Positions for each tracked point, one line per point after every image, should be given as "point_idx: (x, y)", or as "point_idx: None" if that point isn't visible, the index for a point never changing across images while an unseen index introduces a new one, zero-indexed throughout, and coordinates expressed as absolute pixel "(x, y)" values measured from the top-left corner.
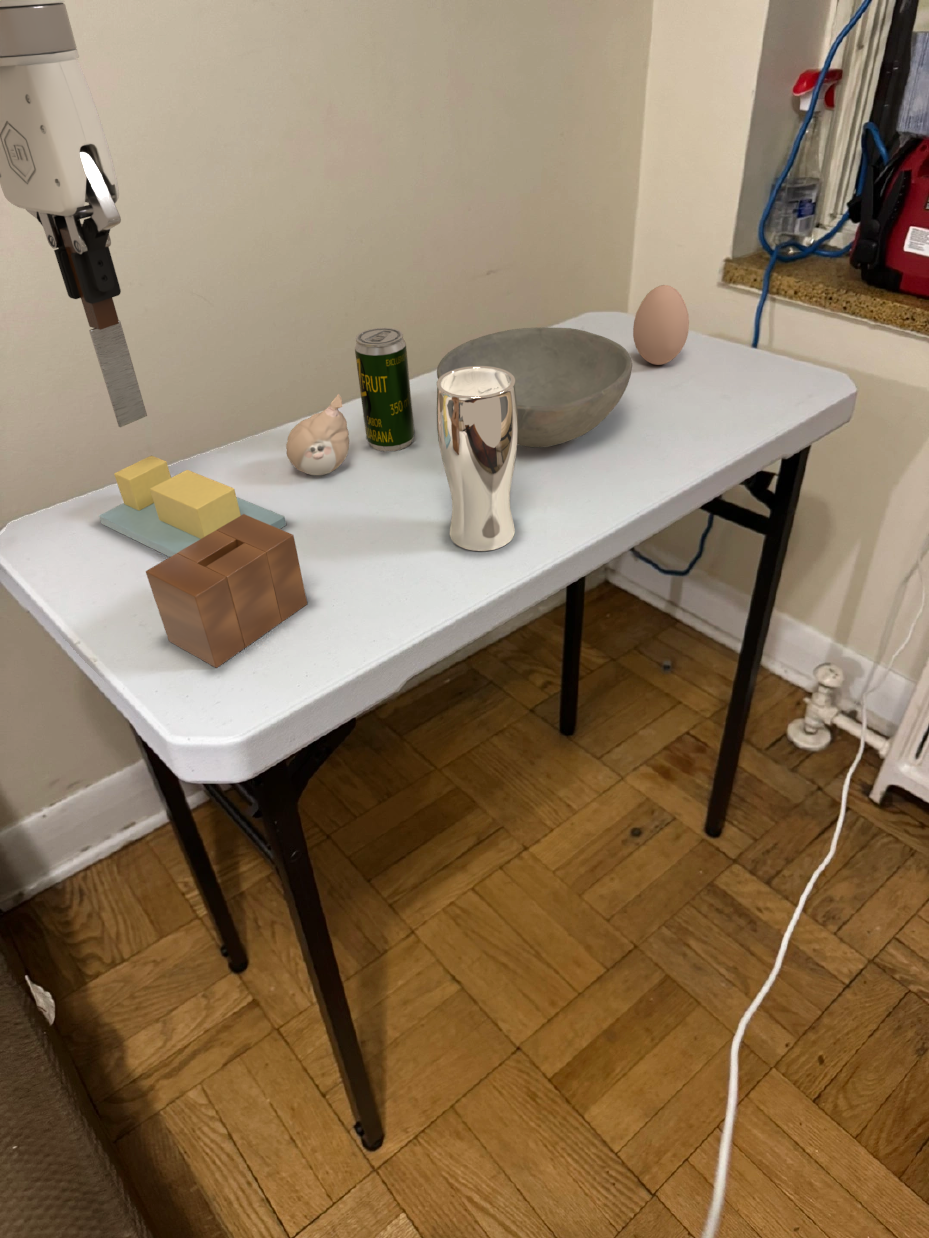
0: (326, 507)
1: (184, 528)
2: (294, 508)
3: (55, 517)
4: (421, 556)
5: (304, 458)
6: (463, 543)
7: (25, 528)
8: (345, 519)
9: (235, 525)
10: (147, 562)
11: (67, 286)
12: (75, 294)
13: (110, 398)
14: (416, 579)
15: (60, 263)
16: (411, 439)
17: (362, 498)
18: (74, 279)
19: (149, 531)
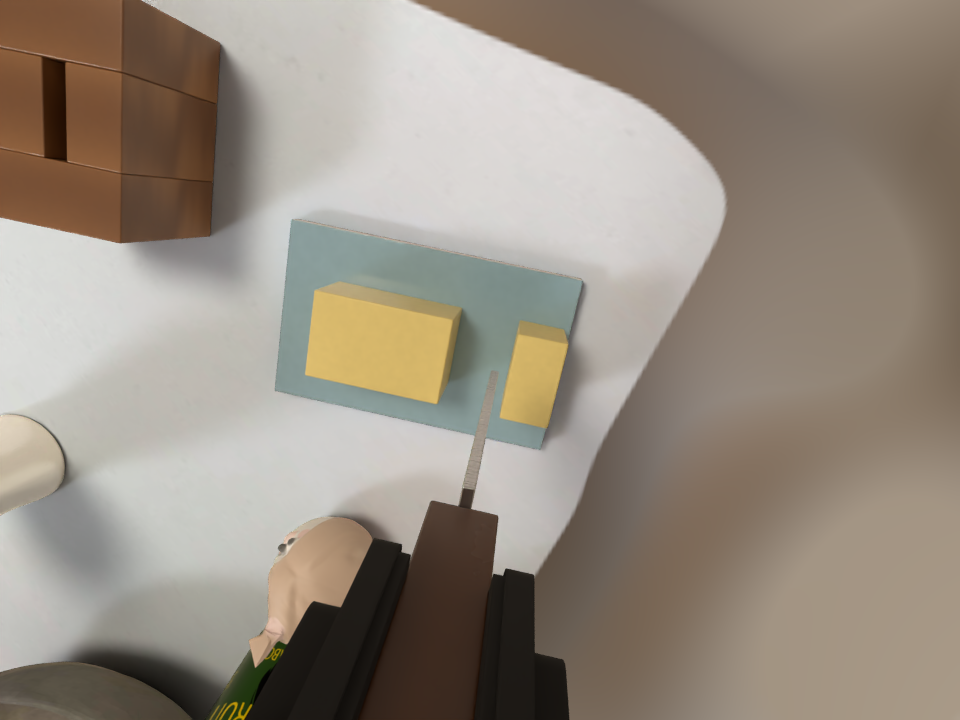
0: (261, 450)
1: (388, 293)
2: (305, 432)
3: (688, 266)
4: (57, 380)
5: (313, 527)
6: (11, 418)
7: (718, 213)
8: (213, 429)
9: (102, 201)
10: (414, 211)
11: (514, 606)
12: (491, 586)
13: (492, 396)
14: (26, 327)
15: (503, 706)
16: None
17: (229, 488)
18: (482, 652)
19: (451, 271)
